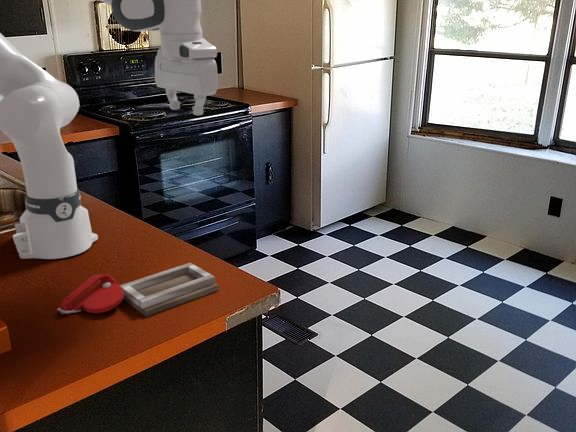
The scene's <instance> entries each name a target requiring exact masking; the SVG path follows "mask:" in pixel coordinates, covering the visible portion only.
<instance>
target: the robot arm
mask: <svg viewBox="0 0 576 432" xmlns="http://www.w3.org/2000/svg"><path fill="white" fill-rule="evenodd" d="M98 1H99V2H102V3H104V4H106V5H109V6H110V7H111V12H112V15H113V18H114V19H115V21H116V22H117V24H119V25H120V26H121V27H123V28H124V29H126V30H129V31H132V32H146V31H153V32H154V31H159V32H160V45H159V48H158V50H157V52H156V55H155V58H154V82H155V84H156V85H155V86H156V87H157V88H162V89H165V94H166V96H167V99H168V102H169V108H170V109H171V110H174V111H175V110H180V108H181V104H180V103H181V102H180V101H179V100H178V96H177V93H178V92H182V93H187V94H190V95H193V99H194V100H195V102H194V106H192V114H193V115H195V116H203V114H204V105H205V102H206V100H207V97H208V96H213V95H216V93H217V91H218V86H219V85H218V84H219V81H218V79H219V77H218V75H219V74H218V65H217V62H216V60H215V58H217V56H218V50H217V47H216V46H215V45H213V44H212V43H210V42H209V41H207V39H205V38H203V29H202V25H201V14H202V2H201V0H98ZM0 97H3V98H2V99H1V100H0V131H1V132H2V133H3V134H4V135H5V136H6V137H7V138H9V139H10V140H11V142H12V144H13V146H14V148H15V150H16V152H17V155H18V158H19V160H20V163H21V164H20V165H21V168H22V173H23V178H24V183H25V184H24V185H25V189H26V194H25V199H24V204H25V210H24V212H23V213H22V215H21V216H20V217H19V222H20V223H15V224H14V229H15V234H13V235H12V240H13V243H14V246H15V245H16V246H15V248H16V251H17V253H19V254H18V257H19V258H20V259H25V260H26V259H39V260H40V259H42V260H58V259H64V258H68V257H72V256H76V255H80V254H81V253H84V252H86V251H87V250H88V249H90V248H91V246H92V244H93V243H94V242H96V241H98V239H99V236H98V234H97V233H94V232H92V226H91V222H90V217H89V211H88V209H87V208H86V207H84V206H82V200H81V198H82V197H81V196H82V195H81V193H80V189H79V188H78V185H77V177H76V171H75V160H74V158H73V155H72V154H71V153H70V152H69V151H68V150H67V148H66V146H65V144H64V141H63V138H62V135H61V129H62V128H63V127H65V126H67V125H69V124H70V123H71V122H72V121H73V120H74V118H75V117H76V115H77V113H78V112H79V110H80V100H79V95H78V94H77V92H76V90H75V89H74V88H73V87H72V86H70V85H69V83H65V82H63V81H60V80H59V79H57V78H56V77H54V76H53V75H51V74H49V72H48V71H46V70H44V69H43V68H42V67H40V66H39V65H38V64H36V63H34V62H33V61H32V60H31V59H29V57H28V58H27V57H26V56H25V55H24V54H22V52H21V51H19V50H18V49H17V48H16V47H15V46H14V45H13V44H12V43H11V42H10V41H9V40H8V39H7V37H5V35H3V34H2V33H1V32H0Z"/></svg>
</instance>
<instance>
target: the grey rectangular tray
mask: <svg viewBox="0 0 576 432" xmlns="http://www.w3.org/2000/svg"><path fill="white" fill-rule="evenodd" d="M118 285H119V286H120V287H121V289H122V291H123V300H124V301H125V302H127V304H128V305H130V306H131V307H133V308H134V309H135V310H137V311H138V312H140V313H141V314H142V315H143V316H145V317H146V318H147V317H149V316H153V315H155V314H159V313H160V312H163V311H166V310H170V309H171V308H174V307H177V306H179V305H182V304H184V303H188V302H190V301H194V300H196V299H198V298H201V297H204V296H206V295H210V294H212V293H215V292H217V291H220V288H219V286H220V284H219V283H216V276H214V275H213V274H211V273H209V272H207V271H206V270H204V269H203V268H201V267H200V266H197V265H195V264H193V263H192V262H188V263H185V264H182V265H178V266H175V267H173V268H169V269H166V270H163V271H159V272H157V273H154V274H152V275H148V276H144V277H142V278H139V279H136V280H133V281H129V282H126V283H123V284H118Z"/></svg>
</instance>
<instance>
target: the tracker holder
mask: <svg viewBox="0 0 576 432" xmlns="http://www.w3.org/2000/svg"><path fill="white" fill-rule="evenodd" d="M98 281H100V282H99V283H98V284H96V283H97V282H98ZM95 284H96V286H94V287H93V285H95ZM119 285H120V284H118V283H117V281H116V280H115V278H114V277H112V276H111V275H110V274H106V273H103V274H95V275H92V276H90V277H89V278H87V279H86V280H85V281H84V282H82V283H81V284H80V285H79V286H78V287H77V288H75V289H74V290H73V291H72V292H71V293H69V294H68V295H67V296H66V297H65V298H64V299H63V300H62V302H60V307H58V308H57V311H59V312H60V314H62V315H67V316H70V315H73V314H74V313H75V314H76V313H79V312H82V311H83V310H84V311H85V312H86V313H89V314H99V313H104V312H105V313H106V312H108V311H111V310H112V309H115V308H116V307H118V305H119V304H121V303H122V301H123V300H124V299H123V291H122V289H121V287H120V286H119ZM91 287H93V288H92V289H91V290H89V291H88V292H86V291H87V290H88V289H90V288H91ZM85 292H86V293H85ZM84 293H85V294H84ZM82 294H83V295H82Z"/></svg>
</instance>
